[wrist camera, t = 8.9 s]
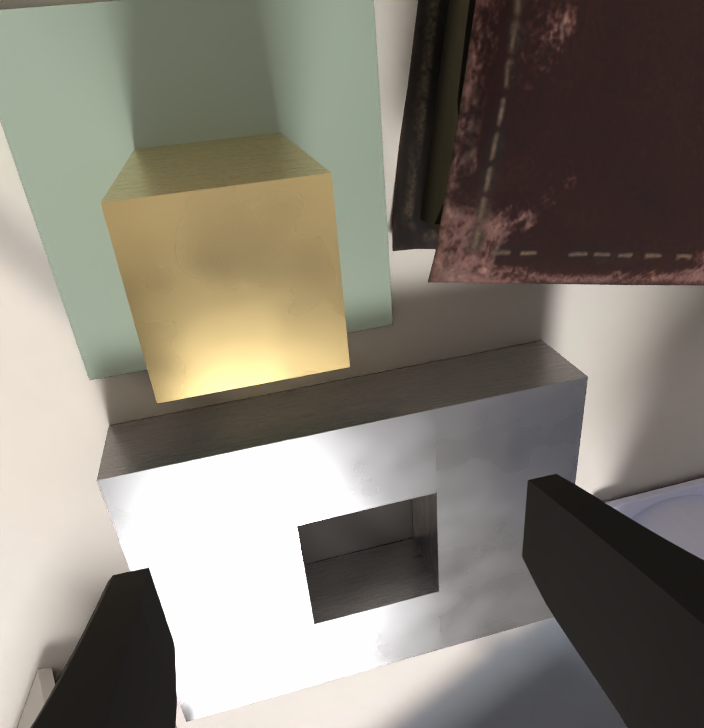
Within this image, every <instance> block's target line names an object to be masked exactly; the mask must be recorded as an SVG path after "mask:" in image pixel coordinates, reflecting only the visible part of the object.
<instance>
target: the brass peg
mask: <svg viewBox="0 0 704 728" xmlns="http://www.w3.org/2000/svg"><path fill="white" fill-rule="evenodd" d="M101 207H102V210H103V214H104V217H105V221H106V224H107V228H108V232H109V235H110V239H111V242H112V246H113V249H114V253H115V256H116V260H117V264H118V267H119V271H120V274H121V278H122V281H123V285H124V288H125V292H126V296H127V299H128V303H129V306H130V310H131V313H132V317H133V320H134V324H135V328H136V331H137V335H138V338H139V342H140V345H141V349H142V352H143V356H144V360H145V363H146V367H147V370H148V374H149V377H150V381H151V384H152V388H153V392H154V395H155V399H156V402H157V403H162V402H168V401H173V400H178V399H184V398H189V397H194V396H199V395H205V394H210V393H215V392H221V391H226V390H231V389H236V388H242V387H247V386H252V385H258V384H263V383H268V382H273V381H279V380H284V379H289V378H295V377H300V376H305V375H310V374H316V373H321V372H326V371H332V370H337V369H342V368H347V367H350V362H349V351H348V341H347V330H346V319H345V309H344V298H343V288H342V277H341V267H340V256H339V245H338V235H337V224H336V214H335V203H334V193H333V182H332V173H331V172H330V171H329V170H327V169H326V168H325V167H324V166H322V165H321V164H320V163H319V162H317V161H316V160H315V159H314V158H312V157H311V156H310V155H309V154H307V153H306V152H305V151H303V150H302V149H301V148H300V147H298V146H297V145H296V144H295V143H293V142H292V141H291V140H290V139H288V138H287V137H286V136H285V135H283V134H282V133H281V132H277V133H269V134H260V135H252V136H243V137H234V138H226V139H217V140H209V141H200V142H191V143H183V144H174V145H166V146H157V147H148V148H140V149H134V151H133V152H132V154H131V155H130V157H129V158H128V160H127V162H126V163H125V165H124V166H123V168H122V170H121V171H120V173H119V174H118V176H117V177H116V179H115V181H114V182H113V184H112V185H111V187H110V189H109V190H108V192H107V193H106V195H105V196H104V198H103V200H102V201H101Z"/></svg>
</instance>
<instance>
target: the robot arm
mask: <svg viewBox="0 0 704 728" xmlns="http://www.w3.org/2000/svg"><path fill="white" fill-rule="evenodd" d="M522 558H523V560H524V562H525V564H526V566H527V568H528V570H529V572H530V574H531V576H532V578H533V580H534V582H535V584H536V586H537V588H538V590H539V592H540V594H541V596H542V597H543V599H544V601H545V603H546V605H547V606H548V608H549V610H550V611H551V613H552V614H553V616H554V617H555V619H556V620H557V622H558V623H559V625H560V626H561V628H562V629H563V631H564V632H565V634H566V635H567V637H568V638H569V640H570V641H571V643H572V644H573V646H574V647H575V649H576V650H577V652H578V653H579V655H580V656H581V658H582V659H583V661H584V662H585V664H586V665H587V667H588V668H589V670H590V671H591V673H592V674H593V676H594V677H595V678H596V680H597V681H598V683H599V684H600V686H601V687H602V689H603V690H604V692H605V693H606V695H607V696H608V698H609V699H610V701H611V702H612V704H613V705H614V707H615V708H616V710H617V711H618V713H619V714H620V716H621V718H622V719H623V721H624V722H625V724H626V726H627V727H628V728H704V478H700V479H696V480H692V481H688V482H684V483H680V484H676V485H672V486H668V487H664V488H660V489H656V490H652V491H648V492H644V493H640V494H636V495H633V496H629V497H625V498H621V499H617V500H613V501H609V502H605V503H604V502H603V501H601V500H599V499H598V498H596V497H595V496H593V495H591V494H590V493H588V492H586V491H585V490H583V489H582V488H580V487H578V486H577V485H575V484H573V483H572V482H570V481H568V480H567V479H565V478H563V477H561V476H560V475H558V474H552V475H548V476H543V477H539V478H535V479H530V480H528V483H527V497H526V510H525V523H524V536H523V549H522ZM176 708H177V692H176V659H175V643H174V640H173V637H172V634H171V631H170V628H169V625H168V622H167V619H166V616H165V613H164V610H163V607H162V605H161V602H160V599H159V596H158V593H157V590H156V587H155V584H154V581H153V578H152V575H151V572H150V569H149V567H148V568H143V569H139V570H135V571H130V572H126V573H122V574H117V575H113V576H112V577H111V579H110V580H109V581H108V583H107V585H106V587H105V589H104V591H103V593H102V596H101V598H100V600H99V602H98V604H97V606H96V608H95V610H94V612H93V614H92V616H91V618H90V620H89V622H88V624H87V626H86V628H85V630H84V632H83V634H82V636H81V638H80V640H79V642H78V644H77V646H76V648H75V650H74V652H73V653H72V655H71V657H70V659H69V661H68V663H67V664H66V666H65V668H64V670H63V672H62V674H61V675H60V677H59V679H58V681H57V683H56V684H55V686H54V688H53V690H52V692H51V694H50V695H49V697H48V699H47V701H46V702H45V704H44V706H43V708H42V709H41V711H40V713H39V714H38V716H37V718H36V719H35V721H34V723H33V724H32V726H31V727H30V728H175V723H176Z"/></svg>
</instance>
